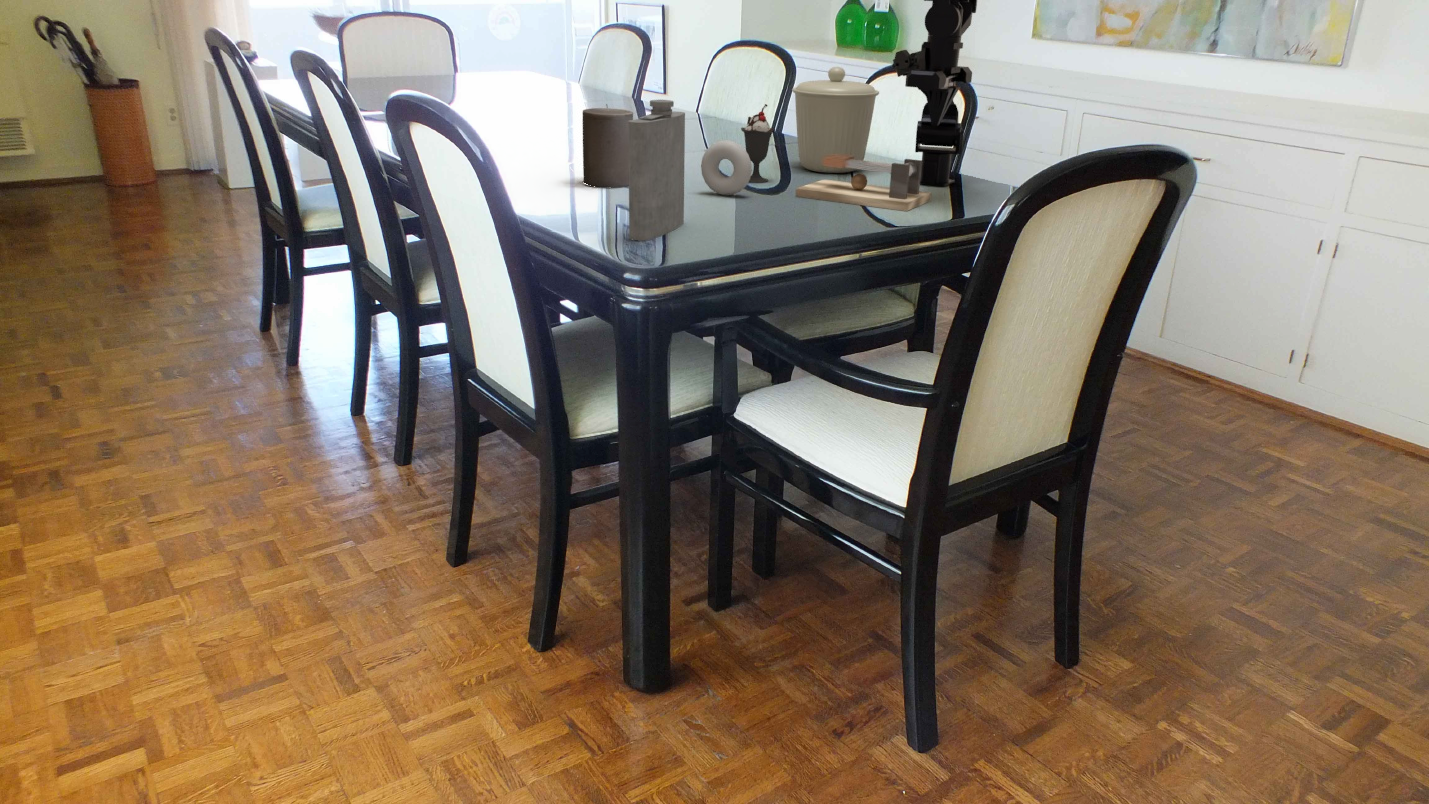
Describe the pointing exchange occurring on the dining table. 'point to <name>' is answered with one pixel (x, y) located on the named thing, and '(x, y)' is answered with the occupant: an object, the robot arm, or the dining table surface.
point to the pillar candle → (606, 147)
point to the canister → (833, 119)
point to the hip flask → (656, 171)
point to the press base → (873, 190)
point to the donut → (740, 165)
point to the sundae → (757, 142)
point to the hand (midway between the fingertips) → (935, 125)
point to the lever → (861, 164)
